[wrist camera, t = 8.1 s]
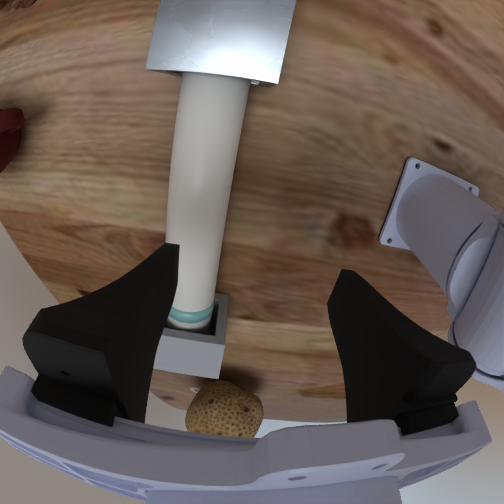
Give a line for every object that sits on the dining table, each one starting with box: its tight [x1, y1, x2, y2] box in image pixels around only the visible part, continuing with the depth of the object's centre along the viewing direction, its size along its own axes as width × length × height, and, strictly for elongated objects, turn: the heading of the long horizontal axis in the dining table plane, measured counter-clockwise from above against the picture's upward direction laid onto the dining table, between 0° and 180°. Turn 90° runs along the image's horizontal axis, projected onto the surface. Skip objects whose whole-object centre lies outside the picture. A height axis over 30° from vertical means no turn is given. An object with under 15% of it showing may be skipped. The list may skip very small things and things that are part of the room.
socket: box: [153, 293, 229, 379], centre depth 25 cm, size 5×7×6 cm
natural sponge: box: [185, 380, 264, 438], centre depth 30 cm, size 9×9×10 cm
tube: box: [165, 72, 251, 335], centre depth 19 cm, size 23×4×4 cm, turn 169°
